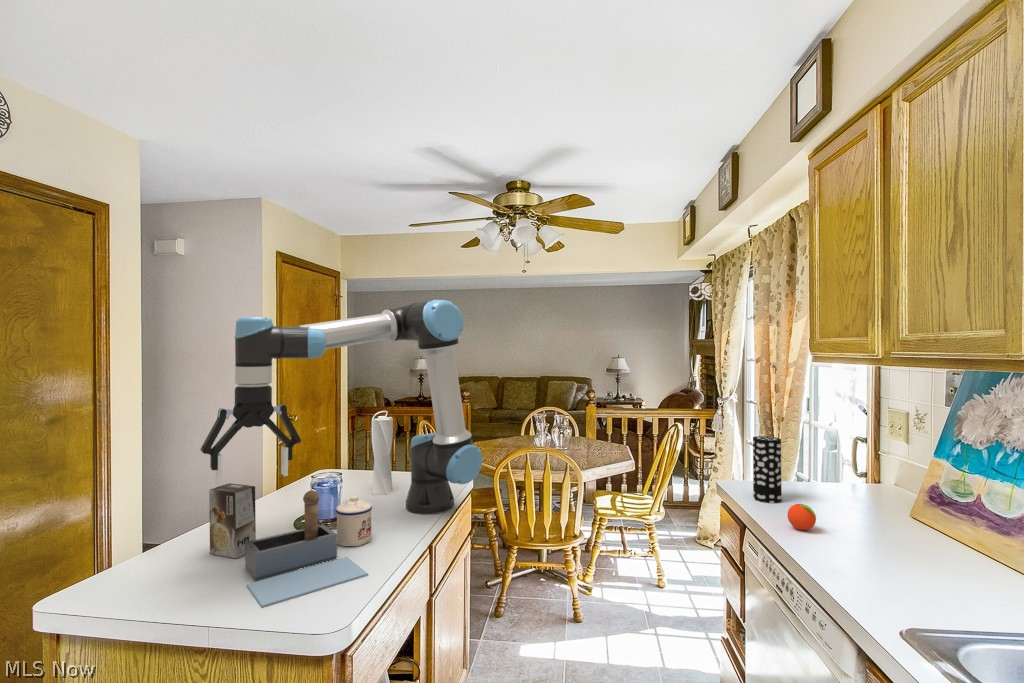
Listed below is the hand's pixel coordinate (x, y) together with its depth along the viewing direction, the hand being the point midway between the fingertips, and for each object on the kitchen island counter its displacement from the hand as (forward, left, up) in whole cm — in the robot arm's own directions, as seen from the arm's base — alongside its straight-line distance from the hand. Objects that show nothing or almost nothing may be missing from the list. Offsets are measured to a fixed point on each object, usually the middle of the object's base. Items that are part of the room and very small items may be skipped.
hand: (252, 479), depth 117 cm
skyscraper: (-51, -41, -21) cm, 69 cm away
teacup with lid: (-26, -5, -21) cm, 34 cm away
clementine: (-122, +69, -21) cm, 142 cm away
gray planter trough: (-8, 0, -21) cm, 23 cm away
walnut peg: (-13, 0, -21) cm, 25 cm away
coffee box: (+1, -17, -21) cm, 27 cm away
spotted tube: (-143, +50, -21) cm, 153 cm away
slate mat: (-8, +12, -21) cm, 25 cm away
